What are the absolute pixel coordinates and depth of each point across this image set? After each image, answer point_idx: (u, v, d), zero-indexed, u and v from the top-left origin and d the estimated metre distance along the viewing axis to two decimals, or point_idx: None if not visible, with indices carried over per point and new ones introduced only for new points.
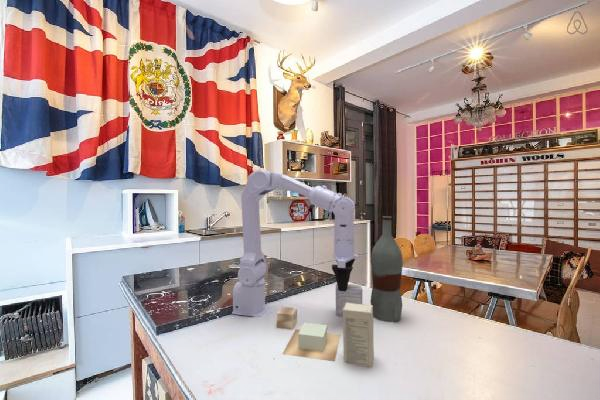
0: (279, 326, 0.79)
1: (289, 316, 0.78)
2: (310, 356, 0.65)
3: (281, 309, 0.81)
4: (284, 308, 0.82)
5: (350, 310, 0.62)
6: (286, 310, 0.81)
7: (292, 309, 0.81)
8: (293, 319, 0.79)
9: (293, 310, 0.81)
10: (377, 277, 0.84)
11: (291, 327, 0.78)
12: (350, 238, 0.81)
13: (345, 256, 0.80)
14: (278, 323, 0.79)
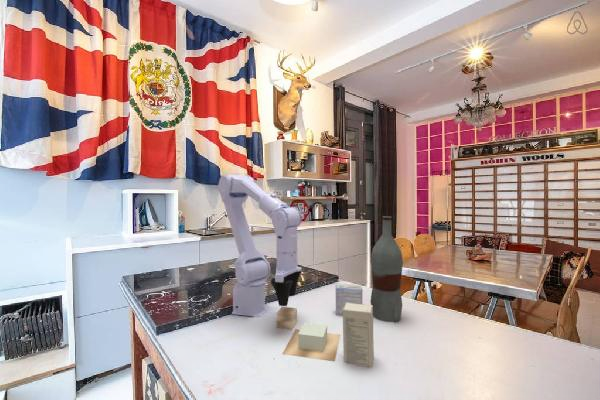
0: (279, 326, 0.79)
1: (289, 316, 0.78)
2: (310, 356, 0.65)
3: (281, 309, 0.81)
4: (284, 308, 0.82)
5: (350, 310, 0.62)
6: (286, 310, 0.81)
7: (292, 309, 0.81)
8: (293, 319, 0.79)
9: (293, 310, 0.81)
10: (377, 277, 0.84)
11: (291, 327, 0.78)
12: (286, 251, 0.77)
13: (286, 269, 0.77)
14: (278, 323, 0.79)
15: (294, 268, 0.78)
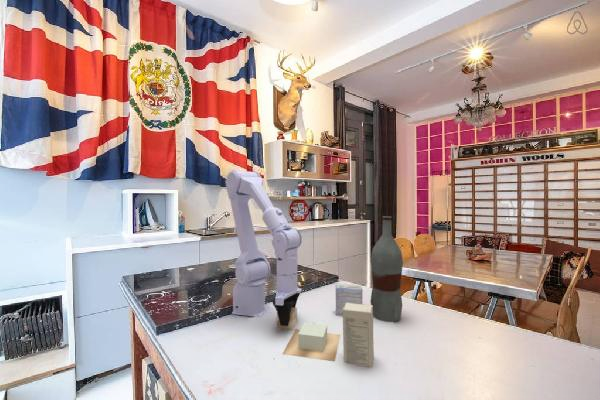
0: (279, 326, 0.79)
1: None
2: (310, 356, 0.65)
3: None
4: None
5: (350, 310, 0.62)
6: None
7: (292, 309, 0.81)
8: (293, 319, 0.79)
9: (293, 310, 0.81)
10: (377, 277, 0.84)
11: (291, 327, 0.78)
12: (286, 273, 0.77)
13: (286, 291, 0.78)
14: (278, 323, 0.79)
15: (294, 290, 0.78)
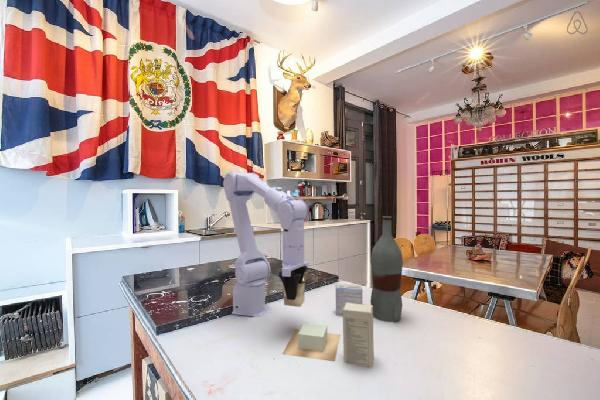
0: (286, 302, 0.76)
1: None
2: (310, 356, 0.65)
3: None
4: None
5: (350, 310, 0.62)
6: None
7: (300, 285, 0.78)
8: (301, 294, 0.76)
9: (301, 286, 0.78)
10: (377, 277, 0.84)
11: (299, 302, 0.75)
12: (292, 244, 0.74)
13: (293, 263, 0.75)
14: (285, 298, 0.76)
15: (301, 262, 0.75)
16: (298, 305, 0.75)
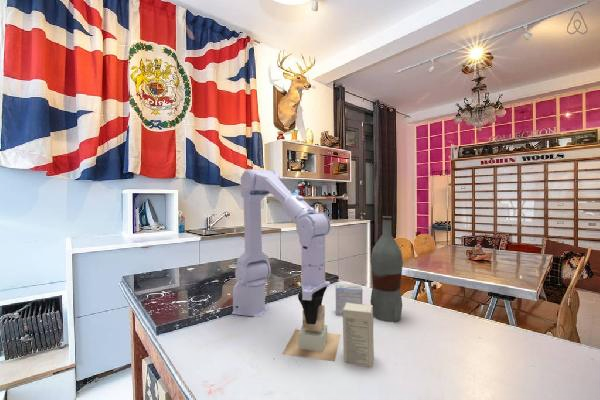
0: (305, 326, 0.69)
1: (317, 314, 0.68)
2: (310, 356, 0.65)
3: None
4: None
5: (350, 310, 0.62)
6: None
7: (319, 307, 0.71)
8: (321, 318, 0.69)
9: (321, 308, 0.71)
10: (377, 277, 0.84)
11: (319, 327, 0.68)
12: (312, 263, 0.67)
13: (313, 284, 0.67)
14: (304, 322, 0.69)
15: (322, 283, 0.68)
16: (318, 330, 0.68)
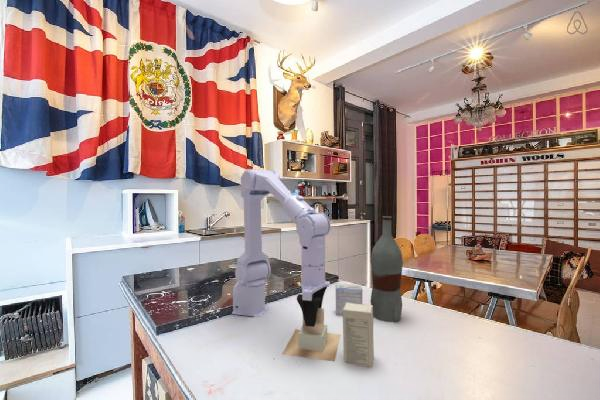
0: (305, 329, 0.69)
1: (317, 317, 0.68)
2: (310, 356, 0.65)
3: None
4: None
5: (350, 310, 0.62)
6: None
7: (319, 310, 0.71)
8: (321, 321, 0.69)
9: (321, 311, 0.71)
10: (377, 277, 0.84)
11: (319, 330, 0.68)
12: (312, 263, 0.67)
13: (313, 284, 0.67)
14: (304, 326, 0.69)
15: (322, 283, 0.68)
16: (319, 333, 0.68)
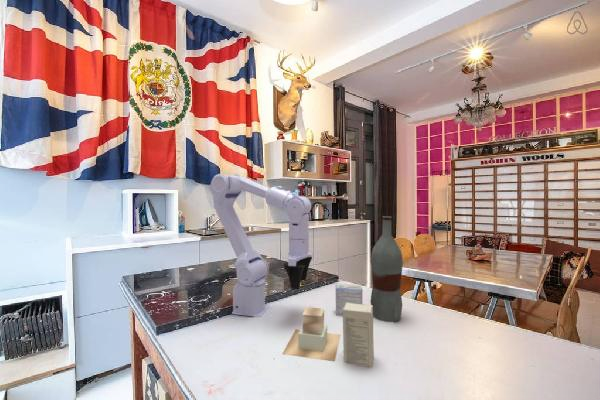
0: (305, 329, 0.69)
1: (317, 317, 0.68)
2: (310, 356, 0.65)
3: (306, 310, 0.71)
4: (309, 308, 0.72)
5: (350, 310, 0.62)
6: (313, 311, 0.71)
7: (319, 310, 0.71)
8: (321, 321, 0.69)
9: (321, 311, 0.71)
10: (377, 277, 0.84)
11: (319, 330, 0.68)
12: (302, 237, 0.81)
13: (298, 254, 0.81)
14: (304, 326, 0.69)
15: (306, 254, 0.82)
16: (319, 333, 0.68)
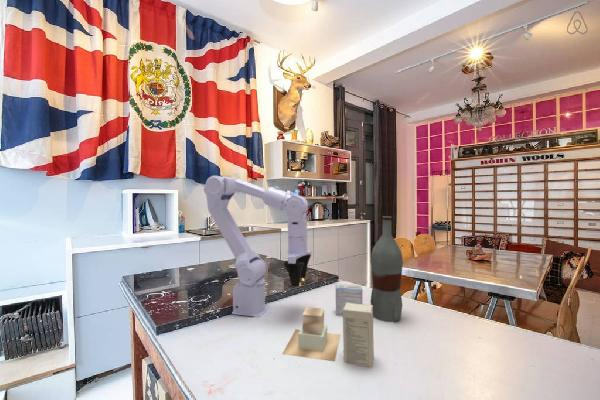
0: (305, 329, 0.69)
1: (317, 317, 0.68)
2: (310, 356, 0.65)
3: (306, 310, 0.71)
4: (309, 308, 0.72)
5: (350, 310, 0.62)
6: (313, 311, 0.71)
7: (319, 310, 0.71)
8: (321, 321, 0.69)
9: (321, 311, 0.71)
10: (377, 277, 0.84)
11: (319, 330, 0.68)
12: (302, 235, 0.84)
13: (297, 252, 0.84)
14: (304, 326, 0.69)
15: (305, 251, 0.85)
16: (319, 333, 0.68)
